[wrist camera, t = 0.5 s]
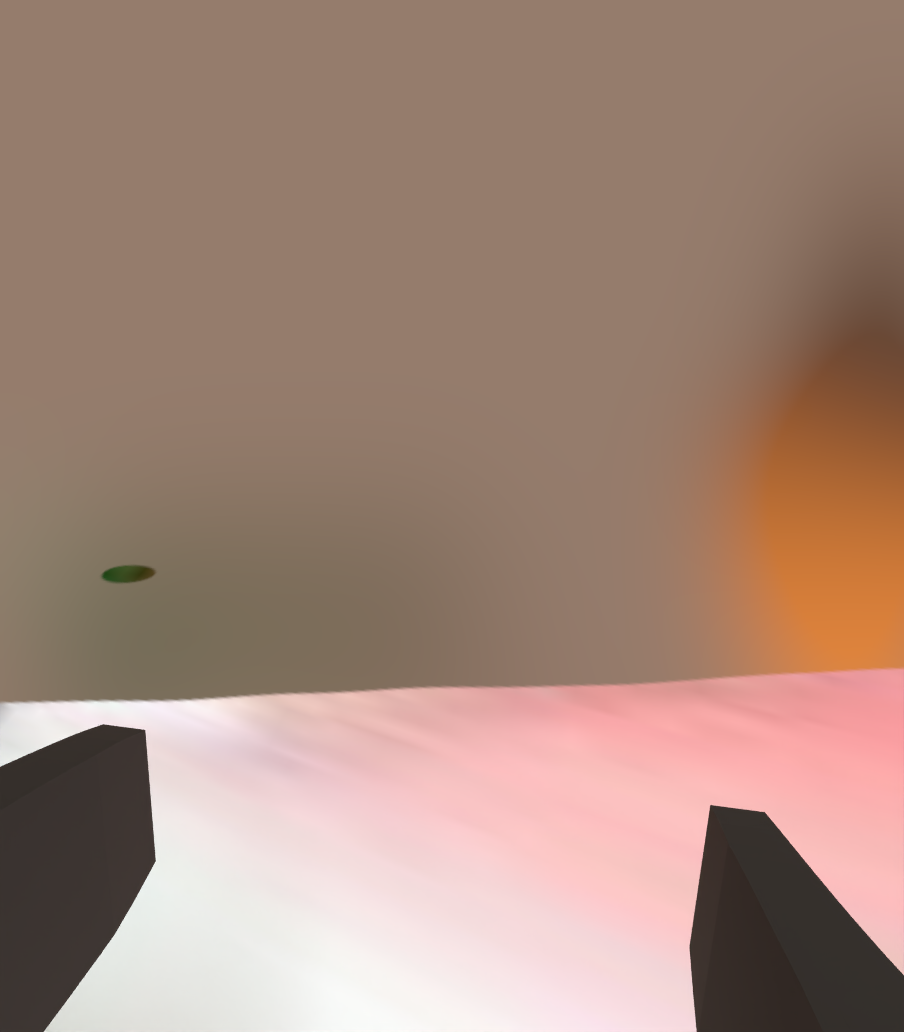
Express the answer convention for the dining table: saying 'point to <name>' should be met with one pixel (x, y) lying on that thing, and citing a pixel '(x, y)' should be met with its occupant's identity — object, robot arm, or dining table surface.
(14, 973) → the robot arm
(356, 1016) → the dining table surface
